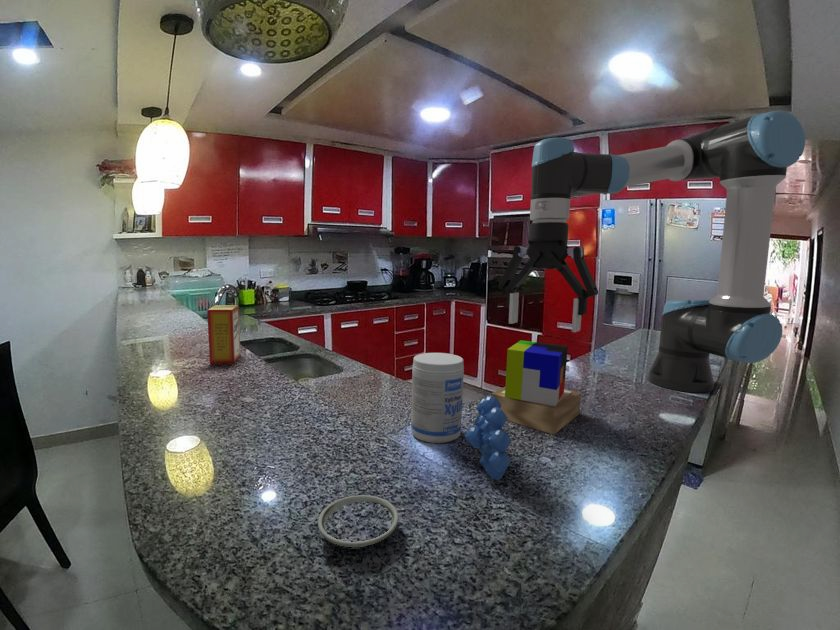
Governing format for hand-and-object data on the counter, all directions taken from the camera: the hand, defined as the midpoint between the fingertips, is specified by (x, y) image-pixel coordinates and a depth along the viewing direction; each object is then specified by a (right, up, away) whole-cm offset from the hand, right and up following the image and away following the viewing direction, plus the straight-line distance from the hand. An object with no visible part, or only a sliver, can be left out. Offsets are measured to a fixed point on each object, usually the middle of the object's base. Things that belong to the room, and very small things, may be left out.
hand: (543, 326), depth 89 cm
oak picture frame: (-1, -19, +3) cm, 19 cm away
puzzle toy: (-1, -14, +1) cm, 14 cm away
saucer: (-33, -25, -36) cm, 55 cm away
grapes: (-15, -22, -21) cm, 34 cm away
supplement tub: (-22, -20, -8) cm, 31 cm away
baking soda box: (-84, -11, +40) cm, 93 cm away
